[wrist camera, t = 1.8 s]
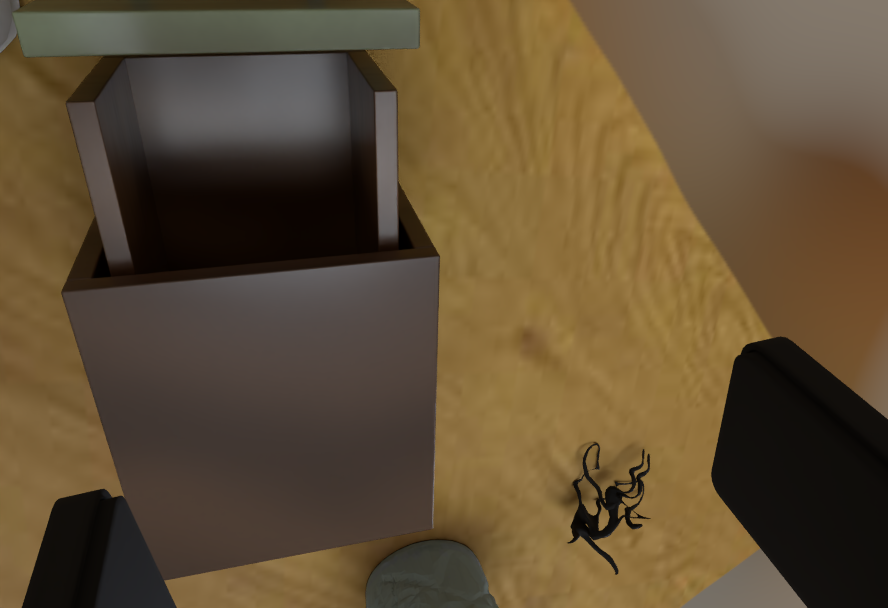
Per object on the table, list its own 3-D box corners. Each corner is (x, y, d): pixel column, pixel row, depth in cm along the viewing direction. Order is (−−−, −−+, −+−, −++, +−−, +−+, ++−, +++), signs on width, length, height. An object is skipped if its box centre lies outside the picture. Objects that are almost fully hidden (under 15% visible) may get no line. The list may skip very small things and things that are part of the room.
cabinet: (107, 184, 29) (60, 292, 22) (390, 166, 32) (440, 255, 24) (169, 435, 37) (150, 583, 29) (394, 403, 40) (433, 529, 32)
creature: (602, 413, 47) (527, 501, 47) (654, 455, 42) (571, 552, 42) (656, 461, 51) (587, 542, 51) (708, 504, 46) (633, 592, 46)
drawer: (34, -170, 22) (-48, -194, 16) (374, -153, 25) (421, -169, 19) (144, 297, 32) (121, 400, 25) (383, 273, 34) (417, 361, 28)
